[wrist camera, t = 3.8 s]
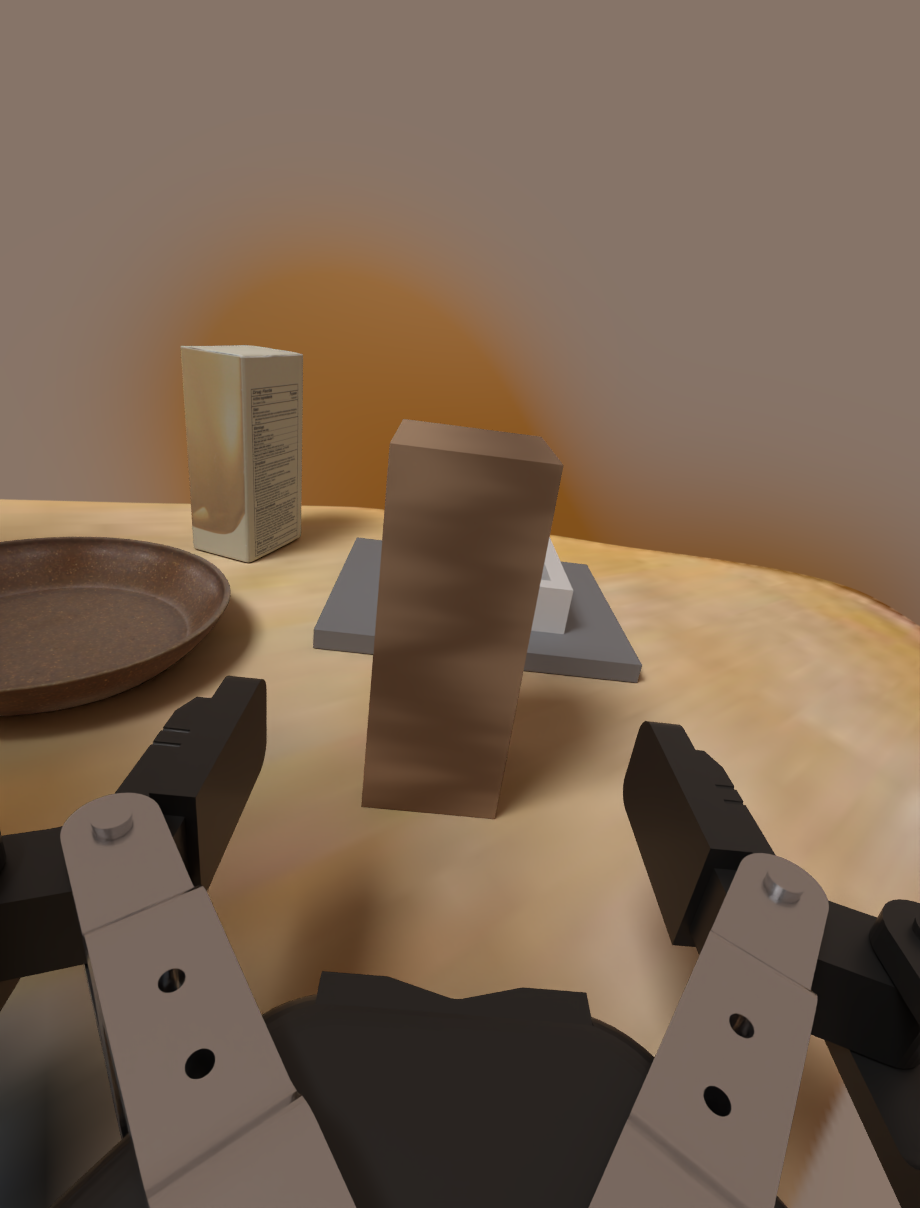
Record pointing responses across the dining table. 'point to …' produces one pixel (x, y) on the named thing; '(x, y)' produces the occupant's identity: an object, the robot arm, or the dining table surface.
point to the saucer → (97, 617)
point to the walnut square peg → (454, 613)
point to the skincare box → (243, 447)
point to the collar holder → (559, 631)
